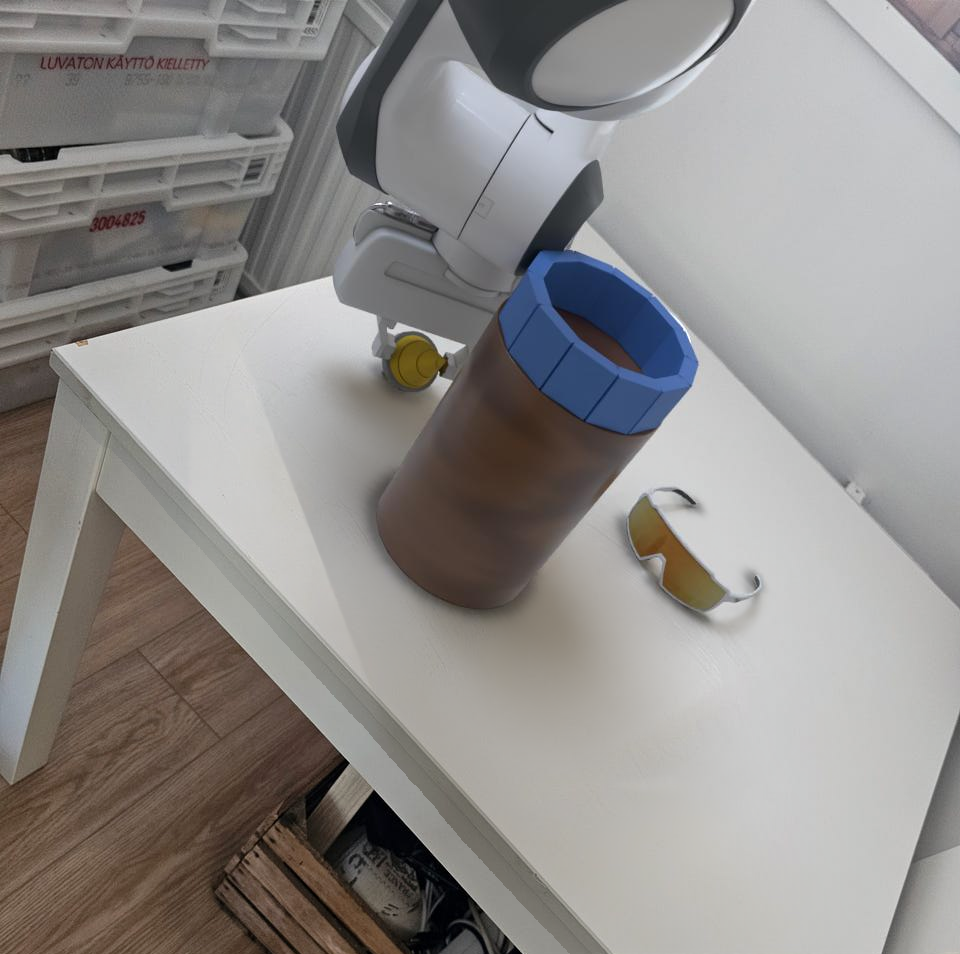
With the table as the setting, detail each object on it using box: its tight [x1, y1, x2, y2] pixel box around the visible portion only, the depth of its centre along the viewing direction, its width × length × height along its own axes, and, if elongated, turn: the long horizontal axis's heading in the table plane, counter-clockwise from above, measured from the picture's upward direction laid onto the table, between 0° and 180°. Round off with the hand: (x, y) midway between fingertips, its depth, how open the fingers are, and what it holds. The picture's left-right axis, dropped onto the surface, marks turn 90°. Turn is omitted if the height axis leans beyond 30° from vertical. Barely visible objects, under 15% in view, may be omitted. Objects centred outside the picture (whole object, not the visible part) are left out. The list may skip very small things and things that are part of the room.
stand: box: [376, 297, 664, 610], centre depth 79 cm, size 14×14×20 cm
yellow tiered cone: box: [381, 330, 446, 393], centre depth 93 cm, size 5×5×10 cm
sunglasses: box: [626, 485, 763, 614], centre depth 101 cm, size 14×15×5 cm
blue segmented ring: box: [499, 249, 700, 434], centre depth 71 cm, size 13×13×4 cm
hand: (413, 364), depth 94 cm, fingers closed on yellow tiered cone, 5 cm apart
